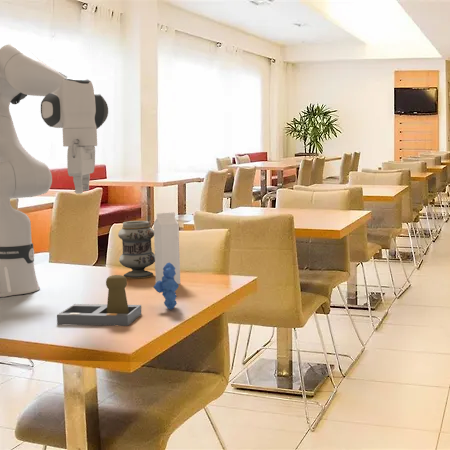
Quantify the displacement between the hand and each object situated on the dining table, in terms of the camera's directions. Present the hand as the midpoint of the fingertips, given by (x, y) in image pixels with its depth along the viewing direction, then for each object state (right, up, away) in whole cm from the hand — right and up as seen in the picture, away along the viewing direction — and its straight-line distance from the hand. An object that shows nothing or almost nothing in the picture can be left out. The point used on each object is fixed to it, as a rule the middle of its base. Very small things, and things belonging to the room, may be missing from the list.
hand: (82, 192), depth 199 cm
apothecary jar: (+9, -26, +48) cm, 56 cm away
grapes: (+22, -31, 0) cm, 38 cm away
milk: (+20, -27, +35) cm, 48 cm away
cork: (+11, -33, -10) cm, 36 cm away
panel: (+6, -32, -10) cm, 35 cm away
